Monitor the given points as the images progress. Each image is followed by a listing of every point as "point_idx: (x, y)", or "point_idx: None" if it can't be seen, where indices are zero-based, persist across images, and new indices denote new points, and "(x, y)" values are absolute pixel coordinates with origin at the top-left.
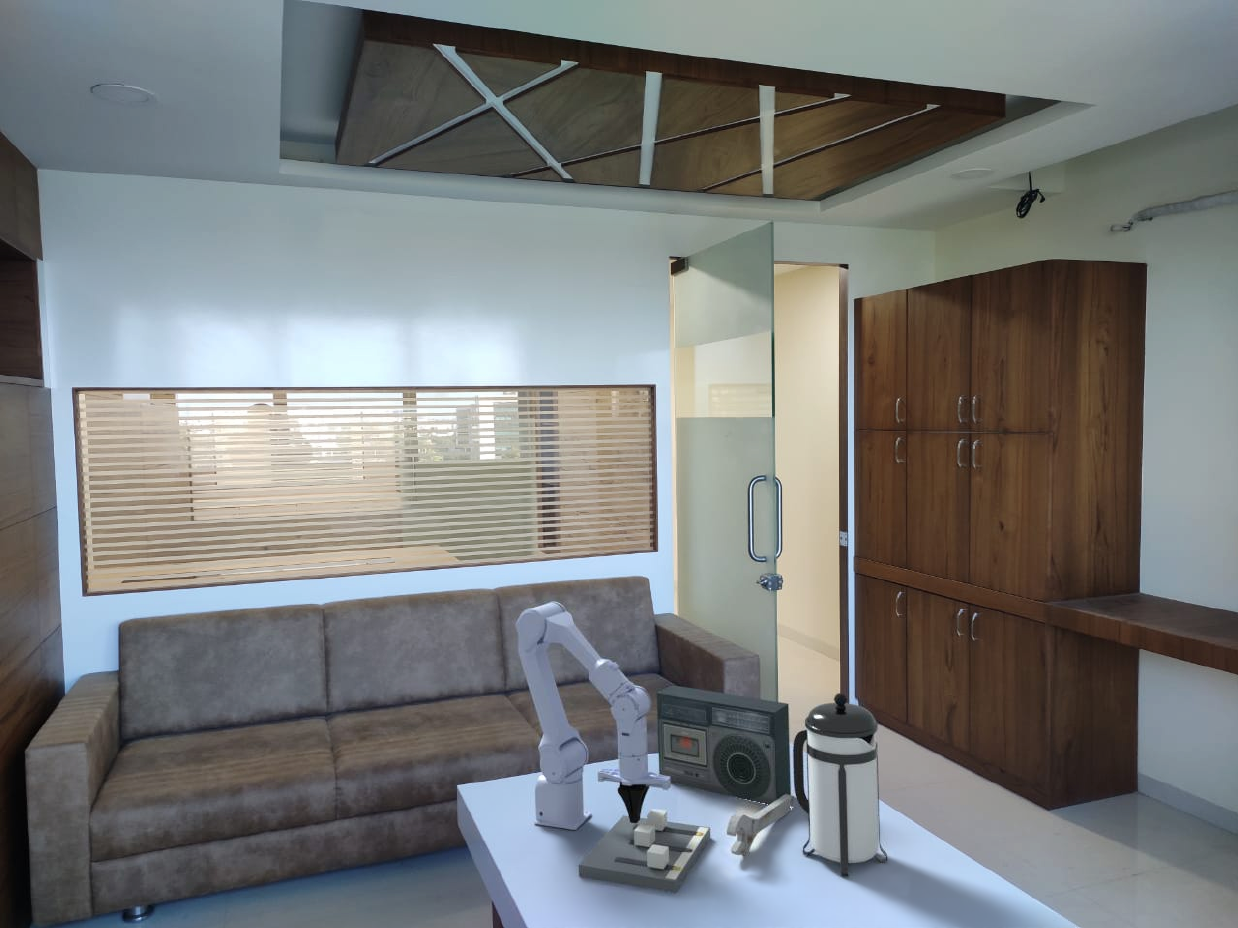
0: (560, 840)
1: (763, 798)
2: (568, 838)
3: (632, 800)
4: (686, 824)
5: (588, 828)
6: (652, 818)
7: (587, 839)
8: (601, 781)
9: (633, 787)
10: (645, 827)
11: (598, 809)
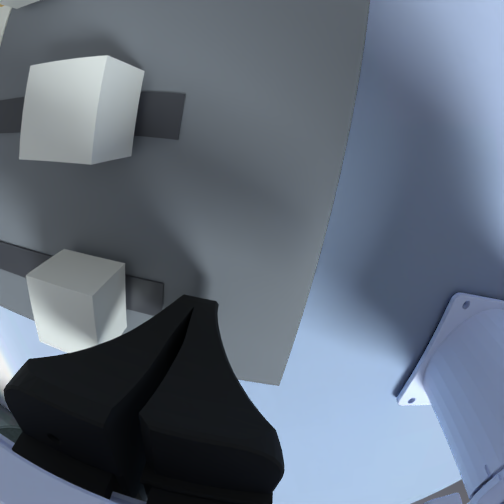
0: (495, 210)
1: (10, 422)
2: (474, 228)
3: (141, 364)
4: (33, 318)
5: (410, 316)
6: (73, 281)
7: (412, 226)
8: (437, 499)
9: (107, 464)
10: (54, 124)
11: (371, 425)
